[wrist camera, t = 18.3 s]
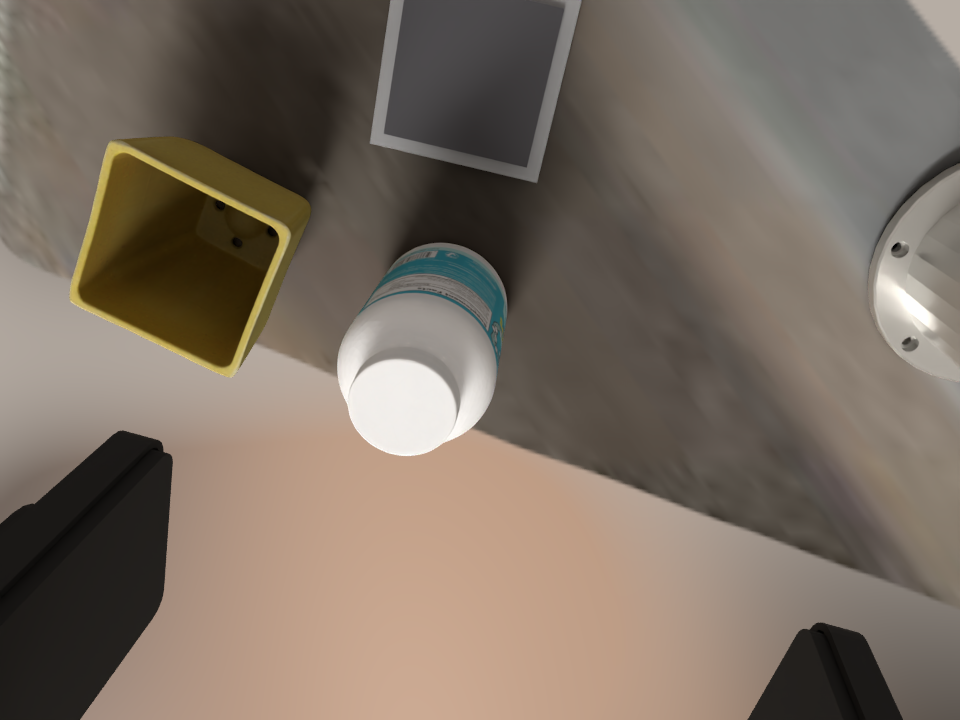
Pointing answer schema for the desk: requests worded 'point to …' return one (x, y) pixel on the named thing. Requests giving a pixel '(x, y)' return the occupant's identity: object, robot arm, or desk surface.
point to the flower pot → (186, 249)
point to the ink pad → (473, 80)
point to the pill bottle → (424, 350)
